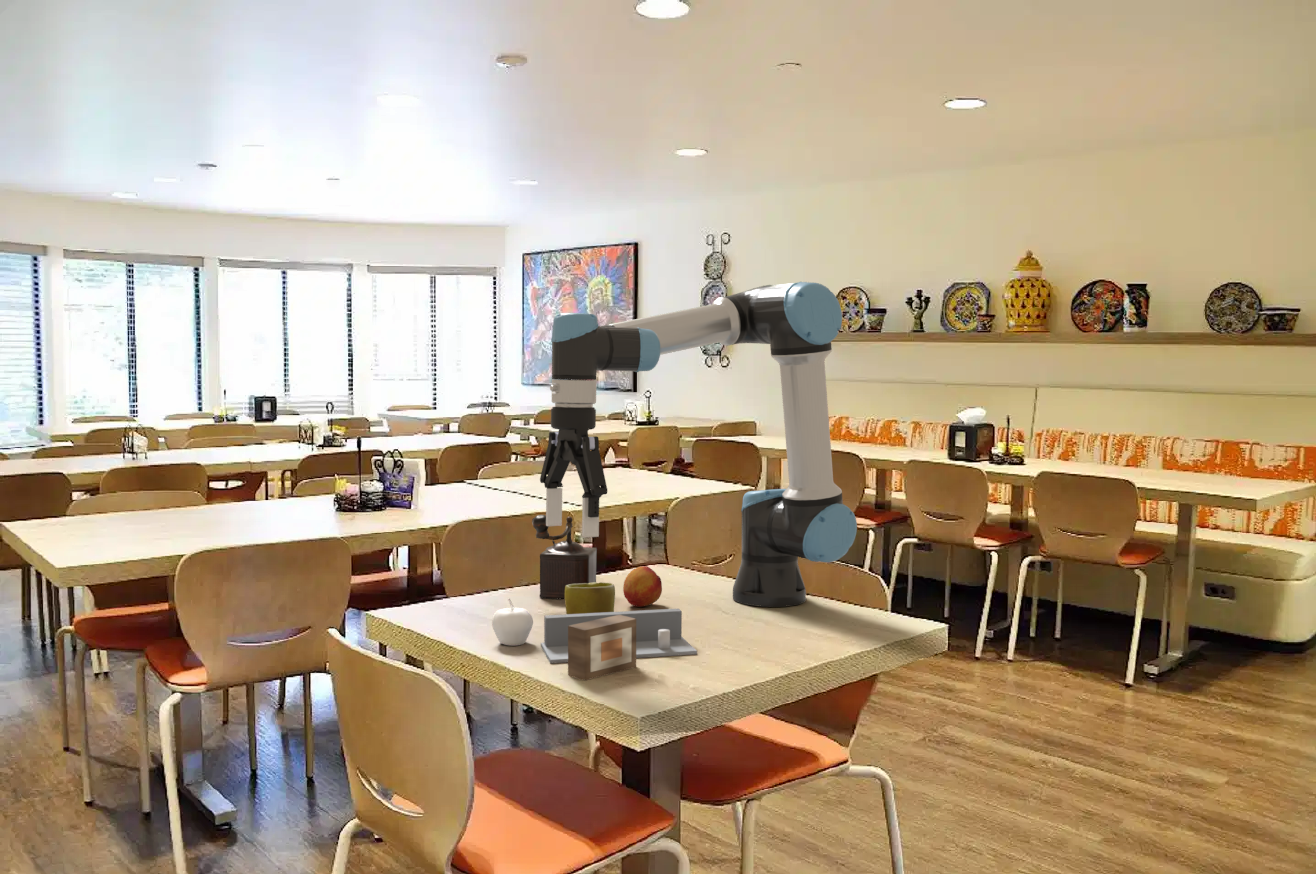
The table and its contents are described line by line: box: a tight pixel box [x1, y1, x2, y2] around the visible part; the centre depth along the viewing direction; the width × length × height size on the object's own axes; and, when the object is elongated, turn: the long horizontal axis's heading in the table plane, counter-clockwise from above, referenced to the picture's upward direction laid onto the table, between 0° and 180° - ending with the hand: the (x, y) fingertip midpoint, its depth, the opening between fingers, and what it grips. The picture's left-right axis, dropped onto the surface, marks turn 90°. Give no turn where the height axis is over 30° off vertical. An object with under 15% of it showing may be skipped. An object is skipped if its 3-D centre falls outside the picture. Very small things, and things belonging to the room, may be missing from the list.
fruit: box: [622, 565, 663, 608], centre depth 221 cm, size 8×8×8 cm
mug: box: [564, 581, 616, 614], centre depth 204 cm, size 12×10×10 cm
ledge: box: [540, 608, 698, 664], centre depth 187 cm, size 25×11×6 cm, turn 104°
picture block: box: [567, 615, 637, 681], centre depth 175 cm, size 11×4×8 cm, turn 134°
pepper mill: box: [531, 514, 598, 601], centre depth 228 cm, size 16×11×18 cm
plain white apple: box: [491, 598, 534, 647], centre depth 191 cm, size 7×7×8 cm
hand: (571, 531), depth 185 cm, fingers open, 13 cm apart
